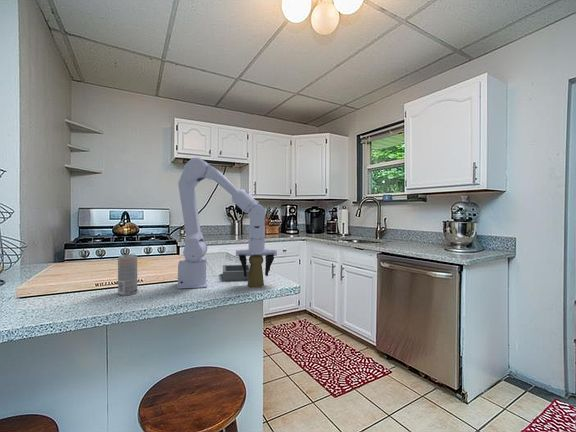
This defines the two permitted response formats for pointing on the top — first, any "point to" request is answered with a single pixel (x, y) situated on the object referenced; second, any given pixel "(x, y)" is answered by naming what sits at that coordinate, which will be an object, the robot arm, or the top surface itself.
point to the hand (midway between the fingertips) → (255, 275)
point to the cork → (255, 271)
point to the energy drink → (127, 274)
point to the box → (235, 272)
